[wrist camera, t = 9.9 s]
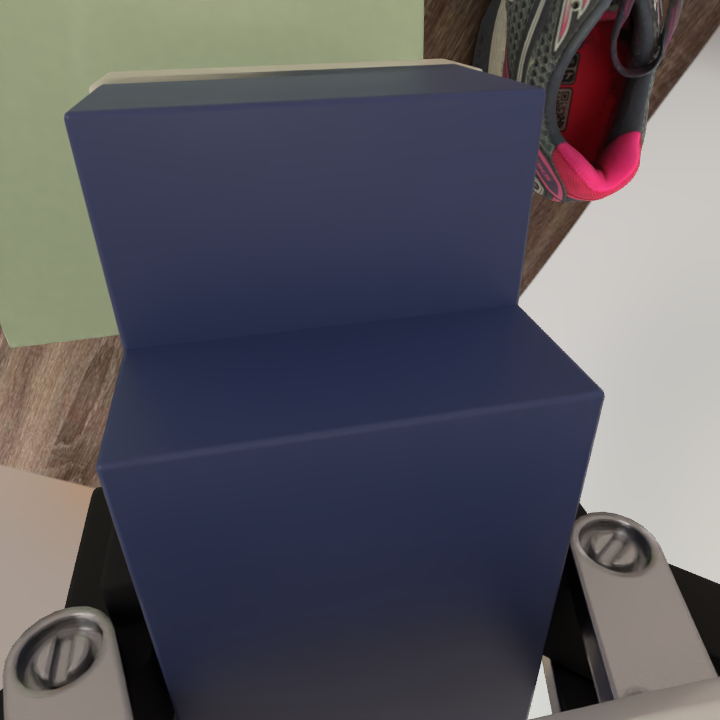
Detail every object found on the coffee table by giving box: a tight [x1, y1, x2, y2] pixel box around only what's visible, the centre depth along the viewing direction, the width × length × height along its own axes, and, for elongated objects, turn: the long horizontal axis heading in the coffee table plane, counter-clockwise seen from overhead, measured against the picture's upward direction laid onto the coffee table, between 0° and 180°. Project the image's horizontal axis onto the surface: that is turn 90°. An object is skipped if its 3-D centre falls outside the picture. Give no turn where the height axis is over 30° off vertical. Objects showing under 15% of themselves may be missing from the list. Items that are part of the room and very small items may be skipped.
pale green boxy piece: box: [0, 0, 424, 348], centre depth 27 cm, size 12×16×32 cm
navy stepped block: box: [64, 59, 604, 720], centre depth 10 cm, size 5×12×6 cm, turn 1°
